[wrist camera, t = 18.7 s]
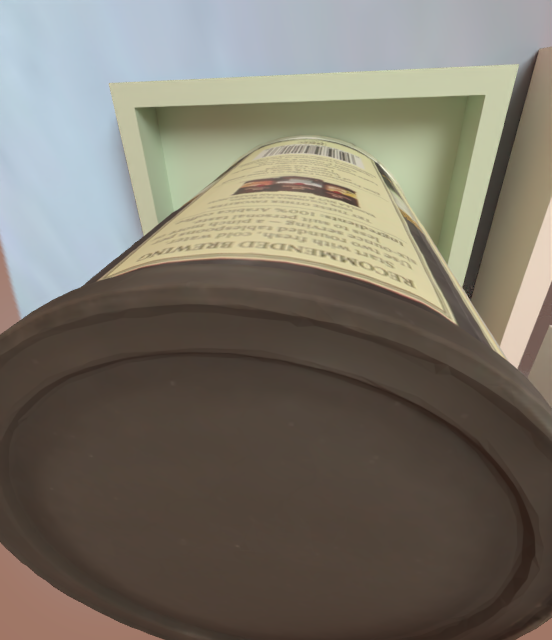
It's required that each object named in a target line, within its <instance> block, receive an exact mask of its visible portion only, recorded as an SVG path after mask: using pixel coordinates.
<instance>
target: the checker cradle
mask: <svg viewBox="0 0 552 640" xmlns="http://www.w3.org/2000/svg"><path fill="white" fill-rule="evenodd" d="M551 282H552V47H547V48H542V49H539V53H538V56H537V60H536V64H535V67H534V71H533V75H532V78H531V82H530V86H529V89H528V93H527V96H526V100H525V104H524V107H523V111H522V115H521V118H520V122H519V126H518V129H517V133H516V137H515V140H514V144H513V148H512V151H511V155H510V159H509V162H508V166H507V170H506V173H505V177H504V181H503V184H502V188H501V192H500V195H499V199H498V203H497V206H496V210H495V213H494V217H493V221H492V224H491V228H490V232H489V235H488V239H487V243H486V246H485V250H484V254H483V257H482V261H481V265H480V268H479V272H478V276H477V279H476V283H475V287H474V290H473V294H472V298H471V303H472V304H473V306H474V308H475V309H476V311H477V312H478V314H479V316H480V317H481V319H482V320H483V322H484V323H485V325H486V326H487V328H488V329H489V331H490V332H491V334H492V335H493V337H494V339H495V340H496V342H497V343H498V345H499V347H500V348H501V350H502V351H503V353H504V355H505V356H506V358H507V359H508V361H509V362H510V363H511V364H512V365H513V366H514V367H516V368H517V369H518V366H519V363H520V361H521V358H522V356H523V353H524V351H525V348H526V346H527V343H528V340H529V338H530V335H531V333H532V330H533V328H534V325H535V323H536V320H537V317H538V315H539V312H540V310H541V307H542V305H543V302H544V300H545V297H546V295H547V292H548V289H549V287H550V284H551Z"/></svg>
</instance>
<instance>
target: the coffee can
mask: <svg viewBox="0 0 552 640" xmlns="http://www.w3.org/2000/svg"><path fill="white" fill-rule="evenodd" d="M0 542H1V543H2V544H3V545H4V547H5V548H6V549H8V550H9V551H10V552H11V553H12V554H13V555H14V556H15V557H16V558H17V559H18V560H19V561H21V562H22V563H23V564H25V565H26V566H28V567H29V568H30V569H31V570H32V571H34V573H36V574H37V575H38V576H40V577H41V578H43V579H44V580H46V581H47V582H48V583H50V584H51V585H52V586H53V587H55V588H57V589H58V590H60V591H61V592H63V593H64V594H66V595H68V596H69V597H71V598H73V599H75V600H77V601H79V602H81V603H83V604H85V605H87V606H88V607H90V608H92V609H94V610H96V611H98V612H100V613H102V614H104V615H106V616H108V617H110V618H112V619H114V620H116V621H118V622H120V623H123V624H125V625H127V626H130V627H132V628H135V629H138V630H141V631H143V632H146V633H148V634H150V635H153V636H156V637H159V638H162V639H165V640H516V639H517V638H519V637H521V636H523V635H525V634H526V633H528V632H530V631H532V630H534V629H536V628H538V627H539V626H541V625H542V624H544V623H545V622H546V621H548V620H549V619H550V618H552V408H551V406H550V405H549V404H548V403H547V401H546V400H545V399H544V397H543V396H542V395H541V393H540V392H539V391H538V390H537V389H536V388H535V386H534V385H533V384H532V383H531V382H530V381H529V380H528V378H526V377H525V376H524V375H523V374H522V373H521V372H520V371H519V370H518V369H517V368H516V367H514V366H513V365H512V364H511V363H510V362H509V361H508V359H507V358H506V356H505V355H504V353H503V351H502V350H501V348H500V347H499V345H498V343H497V342H496V340H495V339H494V337H493V335H492V334H491V332H490V331H489V329H488V328H487V326H486V325H485V323H484V322H483V320H482V319H481V317H480V316H479V314H478V312H477V311H476V309H475V308H474V306H473V304H472V303H471V301H470V299H469V298H468V296H467V294H466V293H465V291H464V290H463V288H462V287H461V285H460V284H459V282H458V281H457V279H456V278H455V276H454V275H453V273H452V271H451V270H450V268H449V267H448V265H447V264H446V262H445V260H444V259H443V257H442V255H441V254H440V252H439V250H438V249H437V247H436V246H435V244H434V243H433V241H432V239H431V238H430V236H429V234H428V233H427V231H426V230H425V228H424V227H423V225H422V224H421V222H420V221H419V219H418V218H417V216H416V215H415V213H414V211H413V210H412V208H411V207H410V205H409V203H408V201H407V199H406V197H405V194H404V191H403V190H402V188H401V186H400V185H399V183H398V182H397V180H396V179H395V177H394V176H393V175H392V173H391V172H390V171H389V170H388V169H387V168H386V167H385V166H384V165H383V164H382V163H381V162H380V161H379V160H377V159H376V158H375V157H374V156H372V155H371V154H370V153H368V152H367V151H365V150H363V149H362V148H360V147H357V146H356V145H354V144H353V143H349V142H346V141H343V140H340V139H336V138H332V137H327V136H320V135H295V136H288V137H283V138H278V139H275V140H272V141H268V142H266V143H264V144H261V145H258V146H256V147H255V148H253V149H251V150H250V151H248V152H247V153H245V154H244V155H242V156H241V157H240V158H238V159H237V160H236V161H235V162H234V163H233V164H232V165H231V166H230V167H229V168H228V169H227V170H226V171H225V172H224V173H222V174H221V175H220V176H219V177H218V178H216V179H215V180H214V181H213V182H212V183H210V184H209V185H208V186H207V187H205V188H204V189H203V190H201V191H200V192H199V193H198V194H197V195H195V196H194V197H193V198H192V199H190V200H189V201H188V202H187V203H185V204H184V205H183V206H182V207H180V208H179V209H178V210H176V211H174V212H172V213H171V214H170V215H169V216H168V217H166V218H165V219H164V220H163V221H162V222H160V223H159V224H158V225H157V226H155V227H154V228H153V229H152V230H151V231H150V232H148V233H147V234H146V235H145V236H144V237H142V238H141V239H140V240H139V241H137V242H135V243H134V244H133V245H132V246H131V247H130V248H129V249H128V250H126V251H125V252H124V253H122V254H121V255H120V256H119V257H118V258H116V259H115V260H113V261H112V262H111V263H110V264H108V265H107V266H106V267H105V268H104V269H102V270H101V271H100V272H99V273H98V274H96V275H95V276H94V277H93V278H91V279H90V280H89V281H88V282H87V283H86V284H84V285H83V286H82V287H80V288H78V289H75V290H73V291H70V292H68V293H66V294H64V295H62V296H60V297H58V298H56V299H54V300H52V301H50V302H48V303H47V304H45V305H43V306H41V307H40V308H38V309H36V310H35V311H33V312H31V313H30V314H28V315H27V316H26V317H24V318H23V319H21V320H20V321H19V322H17V323H16V324H14V325H13V326H12V327H10V328H9V329H8V330H6V331H5V332H3V333H2V334H1V335H0Z"/></svg>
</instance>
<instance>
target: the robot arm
mask: <svg viewBox="0 0 552 640" xmlns="http://www.w3.org/2000/svg"><path fill="white" fill-rule="evenodd" d="M528 380H529V381H530V382H531V383H532V384H533V385H534V386H535V388H536V389H537V390H538V391H539V392H540V393H541V395H542V396H543V397H544V399H545V400H546V401H547V403H548V404H549V405H550V406H551V408H552V325H549V328H548V330H547V332H546V335H545V337H544V340H543V342H542V344H541V347H540V349H539V352H538V354H537V356H536V359H535V361H534V364H533V366H532V368H531V371H530V373H529V375H528Z"/></svg>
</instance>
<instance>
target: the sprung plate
mask: <svg viewBox="0 0 552 640" xmlns="http://www.w3.org/2000/svg"><path fill="white" fill-rule="evenodd" d="M549 325H552V282H551V284H550V287H549V289H548V292H547V295H546V297H545V300H544V302H543V305H542V307H541V310H540V312H539V315H538V317H537V320H536V323H535V325H534V328H533V330H532V333H531V335H530V338H529V340H528V343H527V346H526V348H525V351H524V353H523V356H522V358H521V361H520V363H519V366H518V370H519V371H520V372H521V373H522V374H523V375H524V376H525V377H526V378H528V375H529V373H530V371H531V368H532V366H533V364H534V361H535V359H536V356H537V354H538V352H539V349H540V347H541V344H542V342H543V340H544V337H545V335H546V332H547V330H548V328H549Z"/></svg>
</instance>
